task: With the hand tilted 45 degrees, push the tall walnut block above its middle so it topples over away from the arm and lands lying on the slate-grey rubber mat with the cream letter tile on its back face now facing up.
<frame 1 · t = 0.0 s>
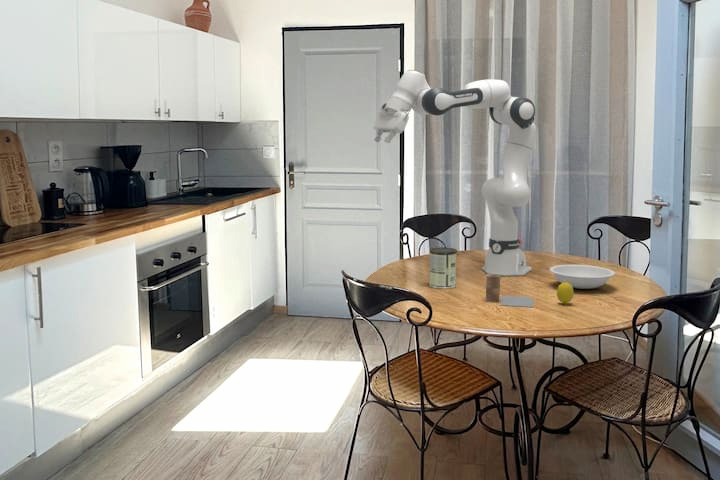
hand: (381, 142, 283), 54 cm above the table, tool tilted 30°, fingers open, 8 cm apart
lemon: (564, 304, 261), on the table
coffee can: (442, 286, 288), on the table
walnut block: (492, 300, 266), on the table
soup bowl: (581, 288, 287), on the table
grey mat: (517, 301, 264), on the table
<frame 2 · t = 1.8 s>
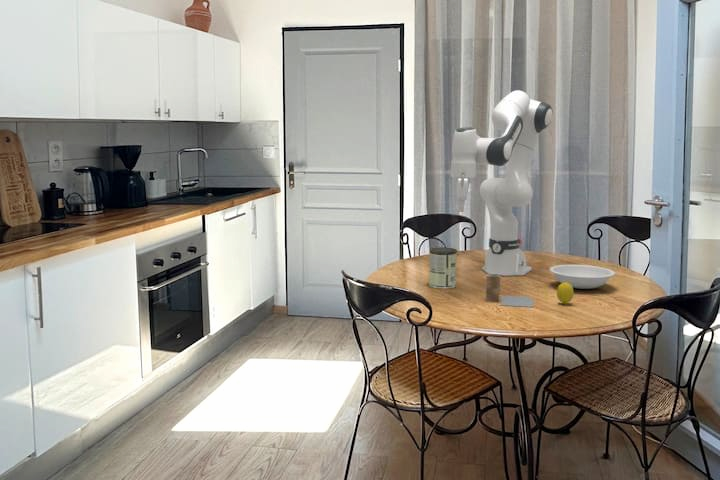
hand: (461, 211, 272), 30 cm above the table, tool pointing down, fingers open, 8 cm apart
nothing on the table moved.
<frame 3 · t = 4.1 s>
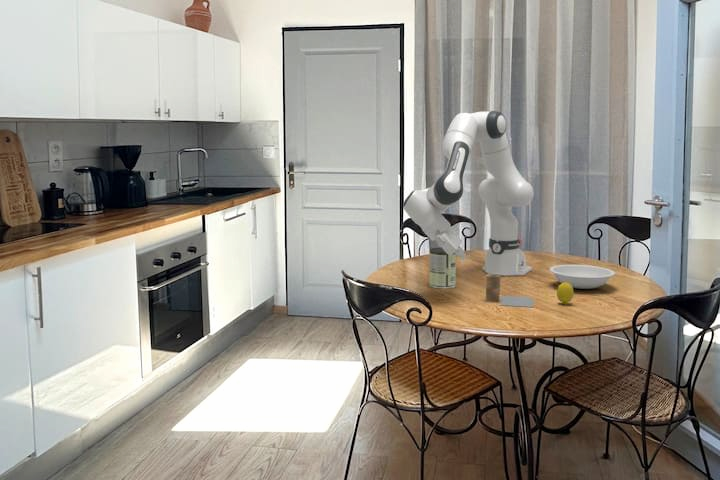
hand: (465, 258, 266), 15 cm above the table, tool tilted 45°, fingers closed
nothing on the table moved.
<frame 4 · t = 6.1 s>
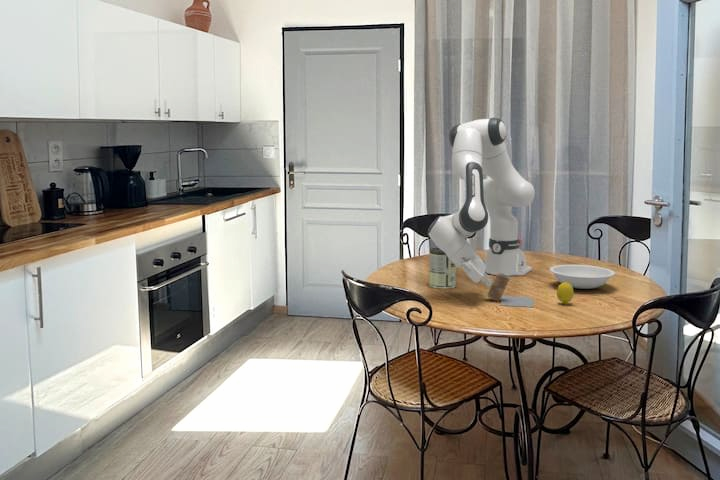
hand: (490, 284, 266), 6 cm above the table, tool tilted 45°, fingers closed
walnut block: (493, 298, 266), point 1 cm above the table, tilted 22°, touching gripper
everything else where it was.
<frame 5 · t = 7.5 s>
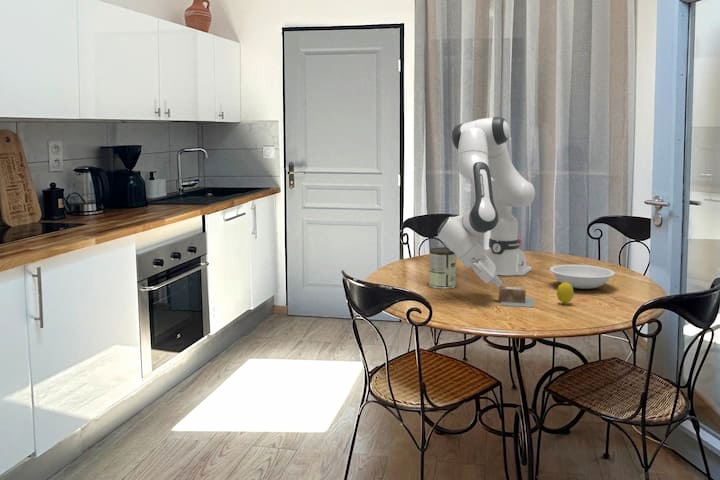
hand: (500, 285, 265), 6 cm above the table, tool tilted 45°, fingers closed
walnut block: (499, 293, 265), point 2 cm above the table, tilted 90°, touching grey mat
everything else where it was.
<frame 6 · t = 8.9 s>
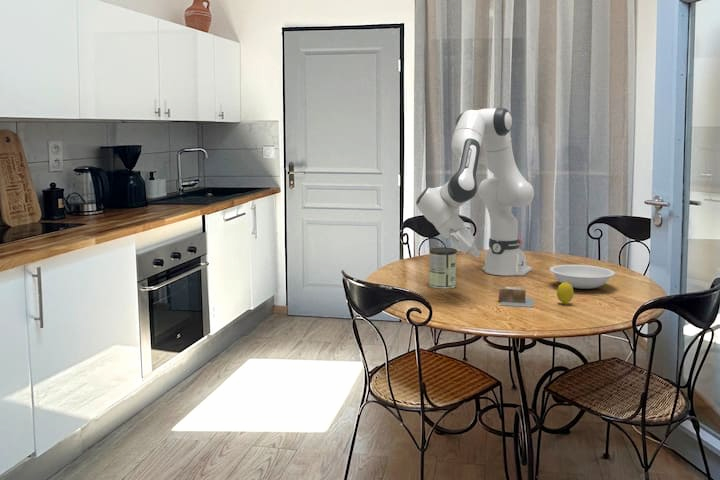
hand: (478, 256, 265), 15 cm above the table, tool tilted 45°, fingers closed
nothing on the table moved.
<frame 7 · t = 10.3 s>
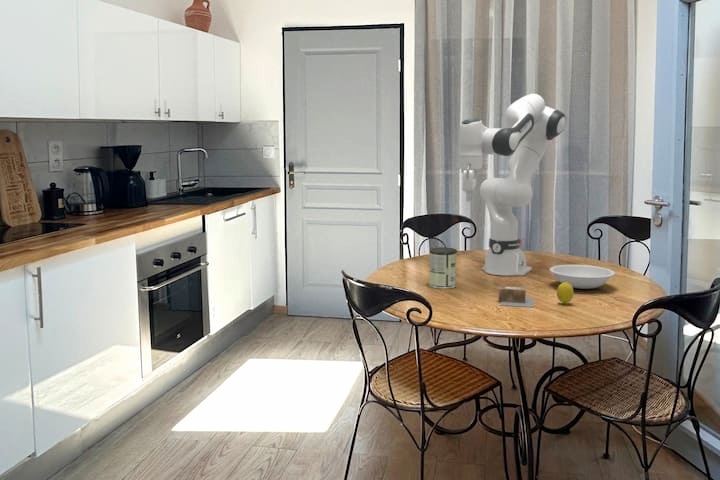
hand: (469, 201, 278), 33 cm above the table, tool pointing down, fingers closed
nothing on the table moved.
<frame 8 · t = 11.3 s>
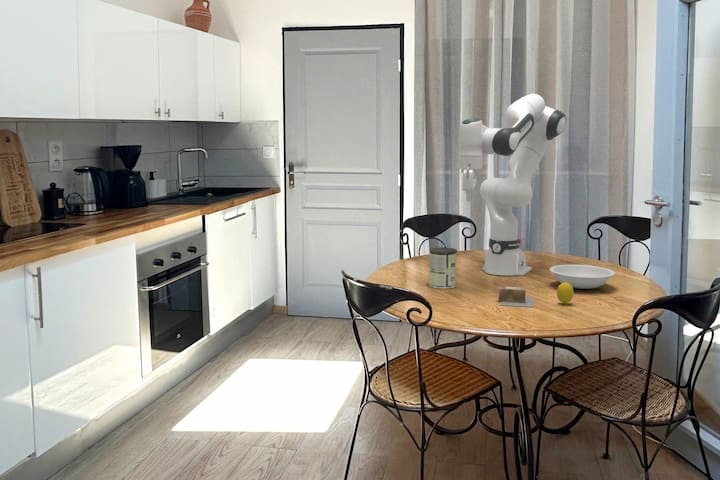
hand: (469, 201, 278), 33 cm above the table, tool pointing down, fingers closed
nothing on the table moved.
at the end: walnut block tilted 90°; walnut block inside the target area (5.4 cm from its centre), point 2.4 cm above the table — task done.
